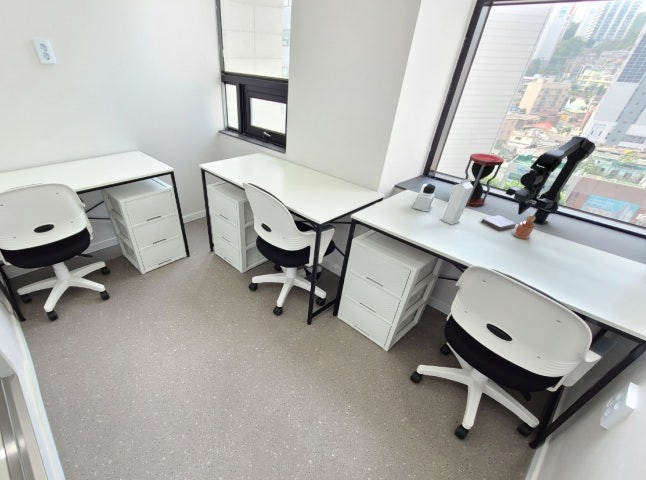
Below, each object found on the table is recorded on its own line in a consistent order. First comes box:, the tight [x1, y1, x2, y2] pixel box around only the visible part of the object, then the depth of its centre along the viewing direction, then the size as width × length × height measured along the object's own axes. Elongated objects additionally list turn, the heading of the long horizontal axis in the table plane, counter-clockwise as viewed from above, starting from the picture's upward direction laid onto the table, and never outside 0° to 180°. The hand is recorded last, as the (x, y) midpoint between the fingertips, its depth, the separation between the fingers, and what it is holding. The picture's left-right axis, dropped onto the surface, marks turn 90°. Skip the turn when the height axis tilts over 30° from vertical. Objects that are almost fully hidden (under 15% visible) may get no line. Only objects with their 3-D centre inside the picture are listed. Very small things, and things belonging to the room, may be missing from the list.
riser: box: [480, 214, 517, 232], centre depth 158 cm, size 12×10×2 cm
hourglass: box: [459, 153, 505, 207], centre depth 175 cm, size 16×16×25 cm
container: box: [412, 183, 436, 212], centre depth 169 cm, size 8×8×13 cm
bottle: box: [513, 214, 535, 240], centre depth 148 cm, size 11×6×8 cm
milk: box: [441, 178, 473, 225], centre depth 154 cm, size 6×6×22 cm
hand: (519, 214), depth 148 cm, fingers closed
